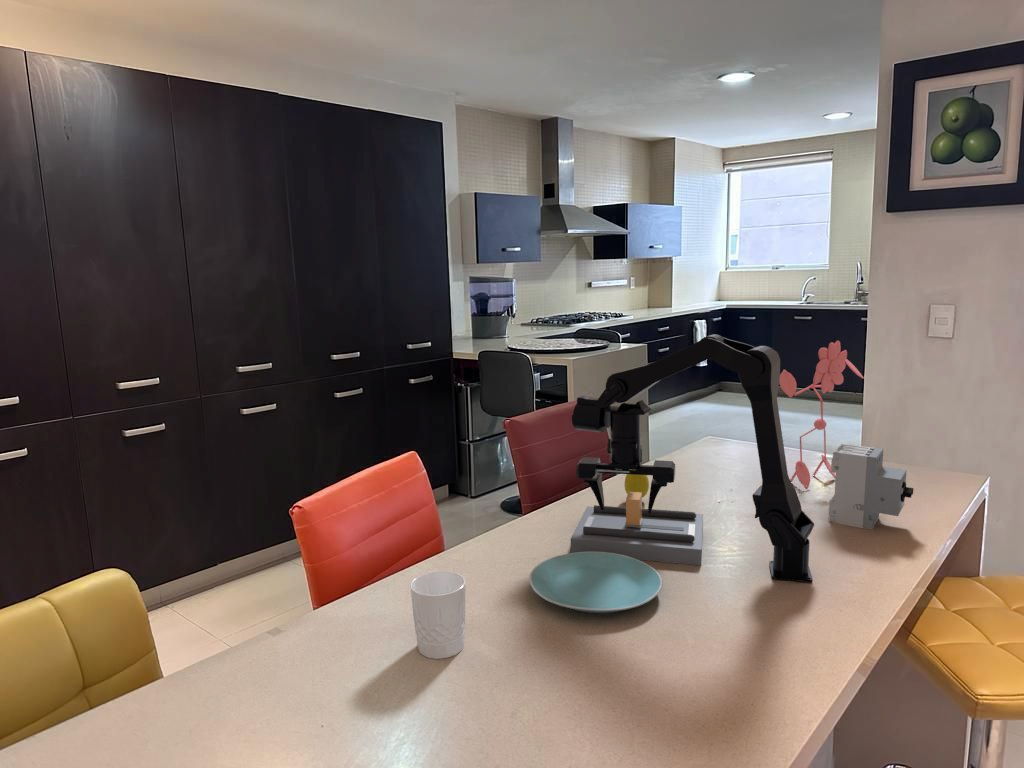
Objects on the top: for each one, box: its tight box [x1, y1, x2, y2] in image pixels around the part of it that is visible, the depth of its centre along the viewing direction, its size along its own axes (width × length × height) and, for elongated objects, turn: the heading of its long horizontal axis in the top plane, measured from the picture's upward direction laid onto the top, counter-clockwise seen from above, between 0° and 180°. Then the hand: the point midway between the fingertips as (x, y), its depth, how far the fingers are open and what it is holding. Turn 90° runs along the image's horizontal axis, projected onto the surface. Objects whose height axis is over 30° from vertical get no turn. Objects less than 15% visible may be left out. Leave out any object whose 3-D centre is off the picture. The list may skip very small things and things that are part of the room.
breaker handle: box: [625, 492, 643, 528], centre depth 135 cm, size 4×3×6 cm
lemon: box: [624, 474, 650, 499], centre depth 158 cm, size 6×6×8 cm
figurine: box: [779, 340, 865, 490], centre depth 161 cm, size 15×26×35 cm, turn 121°
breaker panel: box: [570, 506, 704, 566], centre depth 136 cm, size 18×24×3 cm
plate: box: [529, 552, 663, 614], centre depth 115 cm, size 22×22×3 cm
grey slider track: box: [583, 504, 697, 542], centre depth 135 cm, size 13×21×1 cm, turn 74°
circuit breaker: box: [827, 443, 914, 531], centre depth 140 cm, size 8×14×15 cm, turn 53°
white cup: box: [409, 570, 466, 660], centre depth 99 cm, size 8×8×10 cm
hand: (626, 511), depth 136 cm, fingers open, 9 cm apart
